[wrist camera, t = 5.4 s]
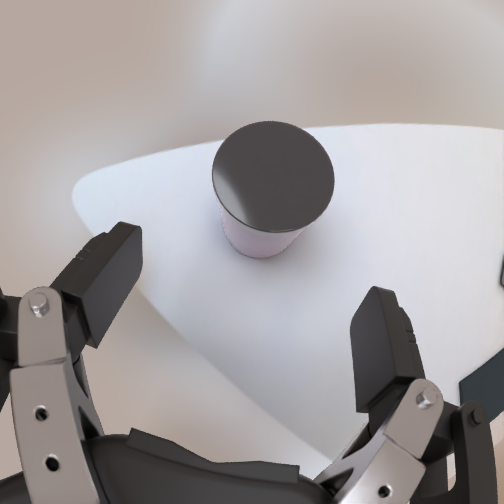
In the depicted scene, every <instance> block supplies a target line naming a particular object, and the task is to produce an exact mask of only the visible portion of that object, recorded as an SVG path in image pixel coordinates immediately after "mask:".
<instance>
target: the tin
mask: <svg viewBox="0 0 504 504" xmlns="http://www.w3.org/2000/svg"><path fill="white" fill-rule="evenodd" d="M212 182H213V187H214V192H215V195H216V198H217V201H218V203H219V206H220V212H221V217H222V223H223V228H224V232H225V235H226V237H227V239H228V241H229V242H230V244H231V245H232V246H233V247H234V248H235V249H236V250H237V251H239V252H240V253H242V254H244V255H246V256H249V257H253V258H268V257H272V256H274V255H277V254H279V253H280V252H282V251H283V250H284V249H285V248H286V247H287V246H288V245H289V244H290V243H291V242H292V241H293V240H294V239H295V238H296V237H297V236H298V235H299V234H300V233H301V232H302V231H303V230H304V229H306V228H307V227H308V226H310V225H311V224H312V223H313V222H315V221H316V220H317V219H318V218H319V217H320V216H321V215H322V213H323V212H324V211H325V210H326V208H327V206H328V205H329V203H330V200H331V198H332V195H333V191H334V183H335V180H334V171H333V166H332V163H331V160H330V158H329V156H328V154H327V152H326V151H325V149H324V148H323V147H322V145H321V144H320V143H319V142H318V141H317V140H316V139H315V138H314V137H313V136H312V135H310V134H309V133H307V132H306V131H304V130H302V129H301V128H298V127H296V126H294V125H291V124H288V123H283V122H277V121H263V122H257V123H252V124H249V125H247V126H244V127H242V128H240V129H238V130H237V131H235V132H234V133H232V134H231V135H230V136H229V137H228V138H227V139H226V140H225V141H224V142H223V143H222V145H221V146H220V148H219V149H218V151H217V153H216V156H215V158H214V162H213V166H212Z"/></svg>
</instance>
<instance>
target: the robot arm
mask: <svg viewBox="0 0 504 504" xmlns="http://www.w3.org/2000/svg"><path fill="white" fill-rule="evenodd" d="M142 264H143V257H142V229H141V227H140V226H137V225H133V224H129V223H125V222H118V223H117V224H116V225H115V226H114V227H113V228H112V230H111V231H110V232H109V233H105V232H103V233H101V234H99V235H97V236H96V237H94V238H92V239H91V240H90V241H89V242H88V243H87V244H86V245H85V246H84V247H83V249H82V250H80V252H79V253H78V254H77V255H76V257H75V258H73V259H72V261H71V262H70V263H69V264H68V265H67V266H66V267H65V269H64V270H63V271H62V272H61V273H60V274H59V276H58V277H57V278H56V279H55V281H53V283H52V284H51V285H50V286H49V287H37V288H34V289H32V290H30V291H29V292H28V293H26V294H25V295H24V296H23V297H14V296H5V295H3V293H2V290H1V288H0V412H1V409H2V407H3V405H4V403H5V401H6V399H7V397H8V394H9V392H10V395H11V405H12V415H13V422H14V429H15V435H16V440H17V446H18V451H19V456H20V461H21V465H22V469H23V471H21V472H19V473H17V474H14V475H12V476H10V477H7V478H5V479H2V480H0V504H407V503H408V501H409V500H410V504H498V498H497V497H498V495H497V478H496V467H495V457H494V451H493V442H492V436H491V430H490V424H489V419H488V415H487V412H486V410H485V408H484V407H483V405H482V404H481V403H479V402H478V401H476V400H468V401H467V402H465V403H464V404H463V405H461V406H460V407H458V406H455V405H453V404H450V403H448V402H445V401H444V400H443V396H442V393H441V391H440V390H439V388H438V387H437V386H436V385H435V384H434V383H433V382H431V381H429V380H427V379H426V378H425V373H424V369H423V365H422V361H421V357H420V353H419V349H418V346H417V344H416V338H415V335H414V334H413V332H414V331H413V328H412V324H411V321H410V319H409V317H408V316H407V314H406V313H405V311H404V310H403V308H401V307H399V305H398V302H397V298H396V295H395V293H394V291H392V290H388V289H384V288H380V287H376V286H373V287H372V288H371V289H370V290H369V291H368V293H367V295H366V297H365V298H364V300H363V301H362V303H361V305H360V306H359V308H358V310H357V311H356V313H355V314H354V316H353V318H352V321H351V325H350V338H351V347H352V357H353V369H354V381H355V396H356V412H359V413H369V420H367V421H366V422H365V423H364V424H363V426H362V427H361V428H360V430H359V431H358V432H357V434H356V435H355V436H354V438H353V439H352V440H351V441H350V443H349V444H348V445H347V447H346V448H345V449H344V450H343V451H342V453H341V454H340V455H339V456H338V458H337V459H336V460H335V461H334V462H333V463H332V464H331V465H330V466H328V467H327V468H326V469H325V470H323V471H322V472H321V473H320V474H319V475H318V476H317V477H316V478H315V479H314V480H311V479H310V478H307V477H305V476H303V475H301V474H299V468H300V466H298V465H288V464H279V463H272V462H264V461H249V462H226V463H216V462H211V461H209V460H207V459H205V458H203V457H201V456H198V455H197V454H195V453H193V452H191V451H189V450H187V449H185V448H184V447H182V446H180V445H178V444H176V443H174V442H173V441H170V440H167V439H164V438H161V437H157V436H154V435H151V434H149V433H146V432H143V431H139V430H137V429H134V428H131V431H130V434H129V435H124V434H112V435H105V434H104V431H103V428H102V425H101V422H100V420H99V417H98V415H97V413H96V410H95V408H94V405H93V401H92V397H91V394H90V389H89V385H88V381H87V376H86V372H85V367H84V362H83V357H82V353H81V352H82V350H83V348H84V346H85V345H89V346H92V347H94V348H96V349H97V347H98V345H99V344H100V342H101V340H102V338H103V337H104V335H105V333H106V331H107V330H108V328H109V326H110V325H111V323H112V321H113V319H114V318H115V316H116V314H117V312H118V311H119V309H120V308H121V306H122V304H123V303H124V301H125V299H126V298H127V296H128V294H129V293H130V291H131V290H132V288H133V286H134V285H135V283H136V282H137V280H138V278H139V276H140V273H141V270H142ZM452 453H454V455H455V468H456V482H455V485H454V487H453V488H452V489H451V490H450V491H448V477H447V459H446V456H448V455H450V454H452Z"/></svg>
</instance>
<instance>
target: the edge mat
mask: <svg viewBox="0 0 504 504" xmlns="http://www.w3.org/2000/svg"><path fill="white" fill-rule="evenodd" d="M459 386H460V401H461V405H463V404H464V403H465V402H467V401H468V400H476V401H478V402H479V403H481V404H482V405H483V407H484V408H485V410H486V412H487V415H488V419H489V423H490V422H491V421H492V420H494V419H495V418H496V417H497V416H498V415H499V414H500V413H501V412H502V411H504V348H503V349H502V350H501V351H500V352H499V353H497V354H496V355H495V356H494V357H492V358H491V359H490V360H489V361H487V362H486V363H485V364H484V365H482V366H481V367H480V368H478V369H477V370H476V371H474V372H473V373H472V374H470V375H469V376H467V377H466V378H465V379H463V380H462V381H460V382H459Z"/></svg>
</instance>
